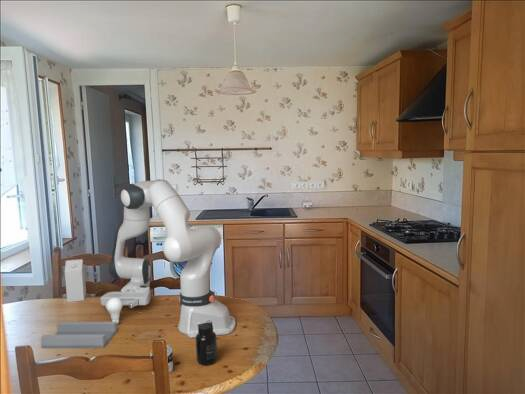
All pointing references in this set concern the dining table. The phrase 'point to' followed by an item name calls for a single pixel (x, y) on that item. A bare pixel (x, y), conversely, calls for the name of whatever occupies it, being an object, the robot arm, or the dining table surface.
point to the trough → (80, 335)
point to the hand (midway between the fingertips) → (118, 306)
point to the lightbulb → (114, 308)
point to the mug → (170, 358)
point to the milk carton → (75, 280)
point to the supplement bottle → (206, 344)
